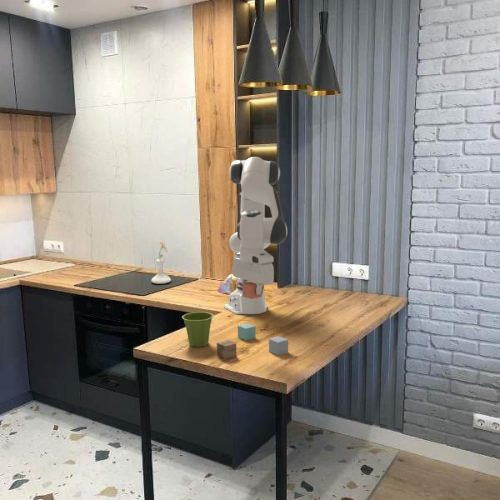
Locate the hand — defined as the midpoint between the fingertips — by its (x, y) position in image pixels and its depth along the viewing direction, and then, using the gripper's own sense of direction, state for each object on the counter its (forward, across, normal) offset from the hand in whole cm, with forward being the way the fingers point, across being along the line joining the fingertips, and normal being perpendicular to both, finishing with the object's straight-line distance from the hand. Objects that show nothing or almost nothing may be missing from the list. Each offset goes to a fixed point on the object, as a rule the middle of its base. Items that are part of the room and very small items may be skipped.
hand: (252, 292), depth 188 cm
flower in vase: (+22, -121, +29) cm, 126 cm away
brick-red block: (+2, 0, 0) cm, 2 cm away
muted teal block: (+22, -11, +6) cm, 25 cm away
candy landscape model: (+22, -78, +53) cm, 97 cm away
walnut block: (+22, 0, -12) cm, 25 cm away
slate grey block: (+22, +9, +5) cm, 24 cm away
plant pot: (+22, -17, -13) cm, 31 cm away
